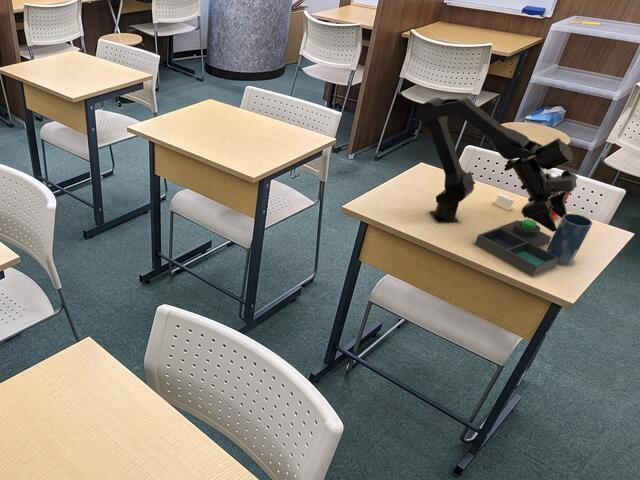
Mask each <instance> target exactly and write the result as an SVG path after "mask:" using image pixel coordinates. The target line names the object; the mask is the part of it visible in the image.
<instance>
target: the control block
mask: <svg viewBox="0 0 640 480" xmlns="http://www.w3.org/2000/svg"><path fill="white" fill-rule="evenodd" d="M522 222H523V220H514V221H511V222H509V223H505V224H503V225H500V226H499V227H501V228H503V229H505V230H506V231H508V232H510V233H512V234H514V235H516V236H518V237H520V238H522V239H524V240H526V241H528V242H530V243H532V244H534V245H536V246H537V247H539V248H540V247H541V246H544V245H547V244H550V242H551V240H552V236H551V235H549V234H548V233H547V234H546V233H545V232H543V231H541V229H542V228H541V227H540V226H539V225H538V224H536V227H535V229H534V230H527V229H524V228H522V227H521V224H522Z"/></svg>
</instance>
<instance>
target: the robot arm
mask: <svg viewBox="0 0 640 480" xmlns="http://www.w3.org/2000/svg"><path fill="white" fill-rule="evenodd" d="M454 115H458V116H459V117H460V118H462V119H463V120H464V121H466V122H467V123H468V124H470V125H471V126H472V127H473V128H474V129H476V131H478V132H479V133H481V134H482V135H483V136H485V137H486V139H488V140H489V141H490V142H491V144H492V146H493V148H494V149H495V150H496V152H497V153H498V154H499V155H500V156H501V157H502V158H503V159H505V160H507V161H506V164H505V167H504V169H503V171H505V172H507V171H510V170H513V171H514V173H515V174H516V176H517V178H518V179H519V181H520V183H521V186H520V189H521V191H523V190H525V192H526V193H527V194H528V196H529V197H528V199H527V201H528V203H526V204H525V205H523V207H522V209H521V210H520V212H521V214H522V216H523V217H524V218H527V219H529V220H533V221H535V222H536V223H537V224H540V225H541V226H543V227H544V228H546V229H547V230H548V231H550V232H552V233H555V231H557V225H556V223H555V219H554V220H553V218H552V215H551V211H552V210H553V211H554V212H555V213H556V214H557V215H558V216H557V217H559V218H561V219H562V217H563V215H565V214H568V211H567V208H566V202H565V201H564V198H565V196H566V194H567V192H570V191H571V192H574V190H575V188H577V186H578V183H577V184H576V180H577V181H578V176H577V175H576V173H574V172H573V171H572V169H565V170H563V171H562V172H563V173H562V175H561V176H560V175H559V176H557V177H551V173H549V172H546V173H545V172H544V170H546V171H550V170H552V169H555V168H557V167H559V166H562V165H564V164H567V163H570V162H572V161H573V160H574V154H573V152H572V151H573V150H572V149H571V147H570V146H569V145H567V143H566V142H564V141H562V139H561V138H560V137H558V138H555V139H553V140H552V141H550V142H548V143H546V144H541V143H538V142H536V141H534V140H531V139H529V137H528V136H527V135H526V134H523V133H521V132H519V131H517V130H515V129H512V128H508V127H506V126H504V125H503V124H501V123H500V122H499V121H497V120H496V119H494V118H493V117H492V116H490V115H489V114H488V113H487V112H485V111H484V110H483V109H482V108H481V107H479V106H478V105H477V104H475V103H474V102H472V100H471V99H470V98H469V97H460V98H445V99H443V98H441V97H433V98H431V99H429V100H427V101H425V102H423V103H422V104H420V106H419V107H418V109H417V116H418V119H419V120H420V123H421V124H422V125H423V126H424V128H426V129H427V130H428V132H429V133H430V136H431V138H432V140H433V144H434V145H435V149H436V152H437V155H438V158H439V161H440V163H441V167H442V170H443V172H444V189H443V191H441V192H440V193H438V194H437V195H436V196H435V202H436V203H437V204H436V207H435V210H430V211H429V214H430V215H431V216H432V217H433V219H434V220H435V221H436V222H437V223H458V222H459V220H458V218H457V217H456V214H457V212H458V208H459V205H460V203H461V202H462V201H463V200H465V199H466V198H467V197H468V196H470V195H471V194H472V193H473V192H474V190H475V184H476V181H475V180H474V179H473V173H472V172H471V171H468V172H466V171H465V170H464V169H463V168H462V166H461V163H460V160H459V157H458V154H457V151H456V148H455V145H454V142H453V139H452V136H451V133H450V130H449V127H448V116H449V117H450V116H454ZM562 191H563V192H562Z"/></svg>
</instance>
